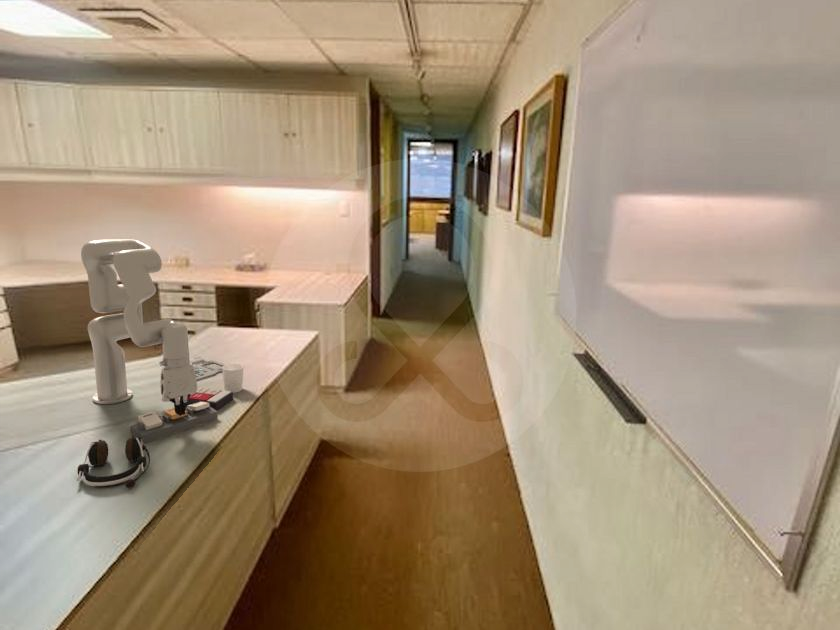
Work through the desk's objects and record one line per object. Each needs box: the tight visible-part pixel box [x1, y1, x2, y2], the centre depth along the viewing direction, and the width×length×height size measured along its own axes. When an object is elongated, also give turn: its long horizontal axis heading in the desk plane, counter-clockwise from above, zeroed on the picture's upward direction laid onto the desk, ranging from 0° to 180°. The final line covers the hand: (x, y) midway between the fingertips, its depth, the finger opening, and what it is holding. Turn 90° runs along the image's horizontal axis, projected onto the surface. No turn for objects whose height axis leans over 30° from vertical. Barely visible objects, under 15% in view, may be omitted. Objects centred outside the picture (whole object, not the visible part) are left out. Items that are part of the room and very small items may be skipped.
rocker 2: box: [186, 402, 210, 411], centre depth 167 cm, size 5×6×2 cm
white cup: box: [221, 362, 244, 394], centre depth 192 cm, size 8×8×10 cm
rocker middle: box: [163, 407, 187, 419], centre depth 161 cm, size 5×6×2 cm
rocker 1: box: [138, 411, 162, 430], centre depth 155 cm, size 5×6×2 cm
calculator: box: [186, 387, 234, 411], centre depth 181 cm, size 11×4×15 cm
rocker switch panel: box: [129, 402, 219, 445], centre depth 161 cm, size 25×9×5 cm, turn 142°
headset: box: [76, 435, 151, 489], centre depth 133 cm, size 17×8×20 cm
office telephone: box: [162, 356, 226, 382], centre depth 212 cm, size 23×3×20 cm
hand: (180, 413), depth 158 cm, fingers closed
